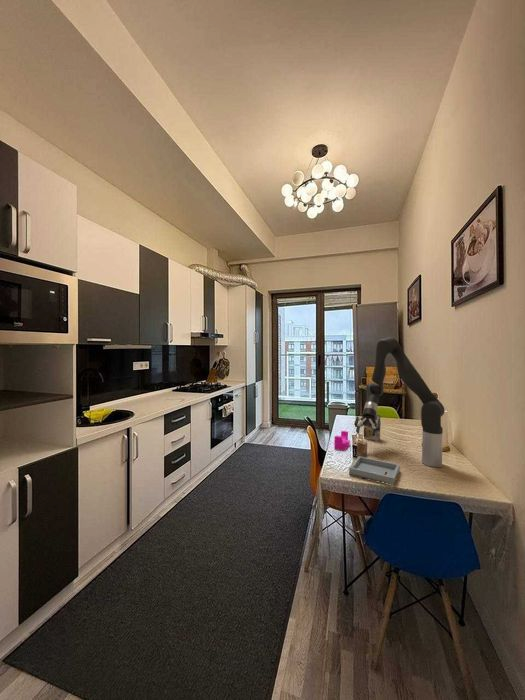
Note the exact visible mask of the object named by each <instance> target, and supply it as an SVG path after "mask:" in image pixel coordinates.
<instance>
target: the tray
mask: <svg viewBox="0 0 525 700" xmlns="http://www.w3.org/2000/svg"><path fill="white" fill-rule="evenodd" d="M400 467H401V465H400V464H398V463H395V462H394V463H393V462H388V461H383V460H380V459H374V458H370V457H367V458H366V457H361V456H358V458H357V457H356V459H355V461H353V463H352V464H351V465H350V466H349V468H348V470H349V471H348V476H351V477H355V476H356V477H355V478H359V477H360V479H363V478H365V479H364V480H367V479H370V480H369V481H371V480H374V481H373V482H375V481H379V482H384V483H388V484H391V485H394V484H395V485H396V483H397V480H398V477H399V475H400V469H401V468H400ZM385 472H387V474H386V475H384V473H385ZM398 474H399V475H398ZM396 479H397V480H396ZM379 482H378V483H379ZM395 482H396V483H395ZM391 485H390V486H391ZM395 485H394V486H395Z"/></svg>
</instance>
